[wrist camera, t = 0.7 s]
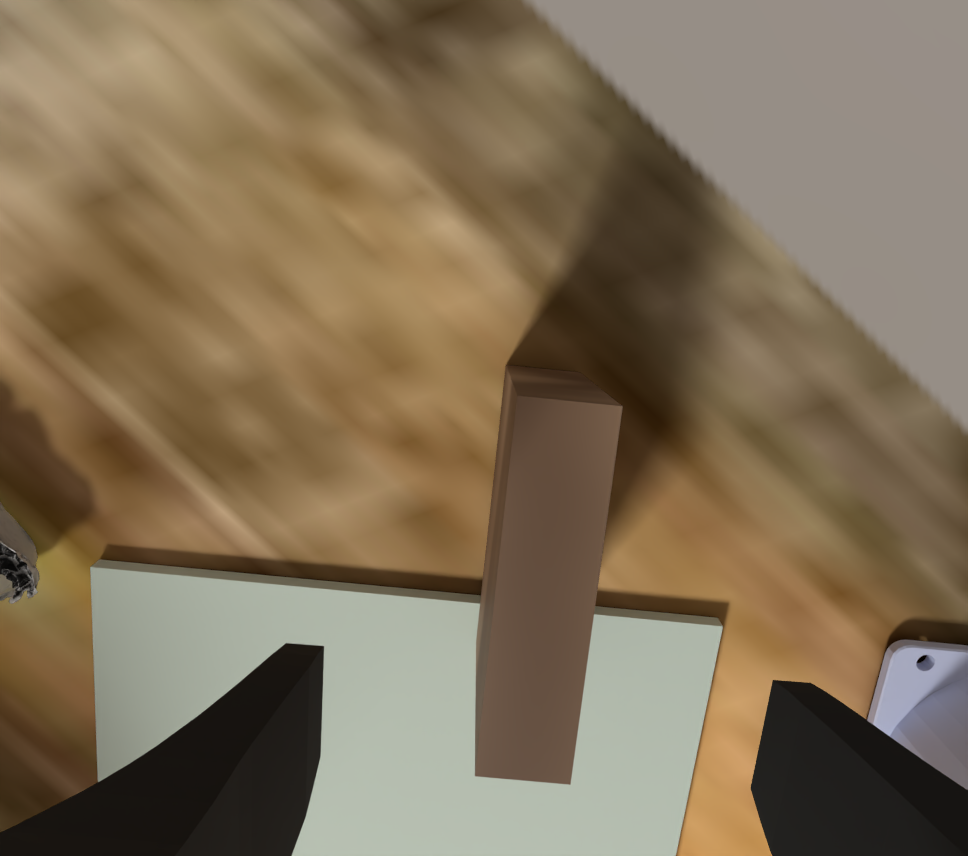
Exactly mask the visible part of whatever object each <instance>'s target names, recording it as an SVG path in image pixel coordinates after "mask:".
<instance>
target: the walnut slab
mask: <svg viewBox="0 0 968 856" xmlns="http://www.w3.org/2000/svg"><path fill="white" fill-rule="evenodd" d="M622 408H623V406H622V405H620V404H619V403H618V402H617V401H615V400H614V399H613V398H612V397H610V396H609V395H608V394H607V393H605V392H604V391H603V390H602V389H600V388H599V387H598V386H597V385H595V384H594V383H593V382H592V381H590V380H589V379H588V378H587V377H585V376H584V375H583V374H581V373H580V372H572V371H562V370H552V369H543V368H533V367H523V366H513V365H506V369H505V378H504V388H503V397H502V406H501V415H500V425H499V434H498V443H497V452H496V462H495V471H494V480H493V489H492V499H491V508H490V517H489V526H488V536H487V545H486V554H485V563H484V572H483V582H482V591H481V600H480V609H479V619H478V628H477V637H476V699H475V776H477V777H488V778H500V779H511V780H522V781H534V782H545V783H556V784H568V785H571V777H572V770H573V763H574V756H575V748H576V741H577V734H578V727H579V719H580V712H581V705H582V698H583V690H584V683H585V676H586V669H587V662H588V654H589V647H590V640H591V633H592V625H593V618H594V611H595V604H596V596H597V589H598V582H599V575H600V567H601V560H602V553H603V546H604V539H605V531H606V524H607V517H608V510H609V502H610V495H611V488H612V481H613V473H614V466H615V459H616V452H617V445H618V437H619V430H620V423H621V416H622Z"/></svg>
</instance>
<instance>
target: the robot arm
mask: <svg viewBox="0 0 968 856" xmlns="http://www.w3.org/2000/svg"><path fill="white" fill-rule="evenodd" d="M923 655H927V657H926V658H925V660H924V661H922V662H921V663H916V662H917V660H918V659H919V658H920V657H921V656H923ZM323 668H324V646H318V645H305V644H292V643H285V644H284V645H283V646H282V647H281V648H279V649H278V650H277V651H276V652H274V653H273V654H272V655H271V656H269V657H268V658H267V659H266V660H265V661H264V662H262V663H261V664H260V665H259V666H258V667H257V668H255V669H254V670H253V671H252V672H251V673H250V674H248V675H247V676H246V677H245V678H244V679H243V680H241V681H240V682H239V683H238V684H237V685H235V686H234V687H233V688H232V689H231V690H229V691H228V692H227V693H226V694H224V695H223V696H222V697H221V698H219V699H218V700H217V701H216V702H215V703H213V704H212V705H211V706H210V707H208V708H207V709H206V710H205V711H203V712H202V713H201V714H200V715H198V716H197V717H196V718H194V719H193V720H191V721H190V722H189V723H187V724H186V725H185V726H183V727H182V728H180V729H179V730H178V731H176V732H175V733H174V734H172V735H171V736H169V737H168V738H167V739H165V740H164V741H163V742H161V743H160V744H158V745H157V746H156V747H154V748H153V749H151V750H150V751H148V752H147V753H145V754H144V755H142V756H140V757H139V758H137V759H136V760H134V761H133V762H131V763H130V764H128V765H126V766H125V767H123V768H121V769H120V770H118V771H116V772H115V773H113V774H111V775H110V776H108V777H106V778H105V779H103V780H101V781H100V782H98V783H96V784H94V785H93V786H91V787H89V788H87V789H86V790H84V791H82V792H80V793H78V794H76V795H74V796H72V797H70V798H68V799H67V800H65V801H63V802H61V803H59V804H57V805H55V806H53V807H51V808H49V809H47V810H45V811H43V812H41V813H39V814H37V815H35V816H33V817H31V818H29V819H27V820H25V821H23V822H22V823H20V824H18V825H16V826H14V827H11V828H9V829H7V830H5V831H3V832H1V833H0V856H292V853H293V850H294V848H295V845H296V842H297V840H298V837H299V834H300V832H301V829H302V826H303V823H304V821H305V818H306V814H307V810H308V806H309V802H310V798H311V794H312V790H313V786H314V782H315V778H316V774H317V770H318V765H319V761H320V757H321V730H322V699H323ZM751 791H752V794H753V798H754V801H755V804H756V808H757V811H758V814H759V818H760V821H761V824H762V827H763V830H764V833H765V836H766V839H767V842H768V845H769V848H770V851H771V854H772V856H968V645H959V644H948V643H937V642H927V641H916V640H899V641H896V642H894V643H892V644H891V645H890V646H889V647H888V649H887V651H886V653H885V656H884V660H883V664H882V667H881V671H880V675H879V678H878V682H877V686H876V689H875V693H874V697H873V701H872V704H871V708H870V712H869V715H868V719H867V720H866V719H864V718H863V717H862V716H860V715H859V714H857V713H856V712H855V711H853V710H852V709H850V708H849V707H847V706H846V705H844V704H843V703H842V702H840V701H839V700H837V699H836V698H834V697H833V696H831V695H830V694H828V693H827V692H825V691H823V690H822V689H820V688H818V687H817V686H815V685H813V684H811V683H804V682H791V681H778V680H773V682H772V687H771V692H770V697H769V702H768V707H767V711H766V716H765V721H764V726H763V731H762V736H761V741H760V745H759V750H758V755H757V760H756V765H755V770H754V774H753V779H752V784H751Z"/></svg>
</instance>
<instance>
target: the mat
mask: <svg viewBox="0 0 968 856" xmlns="http://www.w3.org/2000/svg"><path fill="white" fill-rule="evenodd" d="M90 572H91V600H92V629H93V658H94V686H95V715H96V743H97V772H98V782H100V781H101V780H103V779H105V778H106V777H108V776H110V775H111V774H113V773H115V772H116V771H118V770H120V769H121V768H123V767H125V766H126V765H128V764H130V763H131V762H133V761H134V760H136V759H137V758H139V757H140V756H142V755H144V754H145V753H147V752H148V751H150V750H151V749H153V748H154V747H156V746H157V745H158V744H160V743H161V742H163V741H164V740H165V739H167V738H168V737H169V736H171V735H172V734H174V733H175V732H176V731H178V730H179V729H180V728H182V727H183V726H185V725H186V724H187V723H189V722H190V721H191V720H193V719H194V718H196V717H197V716H198V715H200V714H201V713H202V712H203V711H205V710H206V709H207V708H208V707H210V706H211V705H212V704H213V703H215V702H216V701H217V700H218V699H219V698H221V697H222V696H223V695H224V694H226V693H227V692H228V691H229V690H231V689H232V688H233V687H234V686H235V685H237V684H238V683H239V682H240V681H241V680H243V679H244V678H245V677H246V676H247V675H248V674H250V673H251V672H252V671H253V670H254V669H255V668H257V667H258V666H259V665H260V664H261V663H262V662H264V661H265V660H266V659H267V658H268V657H269V656H271V655H272V654H273V653H274V652H276V651H277V650H278V649H279V648H281V647H282V646H283V645H284V644H285V643H292V644H305V645H318V646H324V668H323V699H322V730H321V757H320V761H319V765H318V770H317V774H316V778H315V782H314V786H313V790H312V794H311V798H310V802H309V806H308V810H307V814H306V818H305V821H304V823H303V826H302V829H301V832H300V834H299V837H298V840H297V842H296V845H295V848H294V850H293V853H292V856H676V853H677V848H678V843H679V838H680V833H681V828H682V823H683V818H684V814H685V809H686V804H687V799H688V794H689V789H690V784H691V780H692V775H693V770H694V765H695V760H696V755H697V750H698V746H699V741H700V736H701V731H702V726H703V721H704V716H705V711H706V707H707V702H708V697H709V692H710V687H711V682H712V677H713V673H714V668H715V663H716V658H717V653H718V648H719V643H720V638H721V634H722V629H723V626H722V624H721V622H720V621H719V619H718V618H715V617H704V616H694V615H683V614H673V613H662V612H651V611H641V610H630V609H620V608H609V607H598V606H595V611H594V618H593V625H592V633H591V640H590V647H589V654H588V662H587V669H586V676H585V683H584V690H583V698H582V705H581V712H580V719H579V727H578V734H577V741H576V748H575V756H574V763H573V770H572V777H571V785H568V784H556V783H545V782H534V781H522V780H511V779H500V778H488V777H477V776H475V699H476V637H477V628H478V619H479V609H480V600H481V595H471V594H460V593H450V592H439V591H429V590H418V589H407V588H397V587H386V586H376V585H365V584H354V583H344V582H333V581H322V580H312V579H301V578H291V577H280V576H269V575H259V574H248V573H238V572H227V571H216V570H206V569H195V568H185V567H174V566H163V565H153V564H142V563H131V562H121V561H110V560H100V559H99V560H98V561H97V562H96V563H95V564H93V565H92V566H91V567H90Z"/></svg>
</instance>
